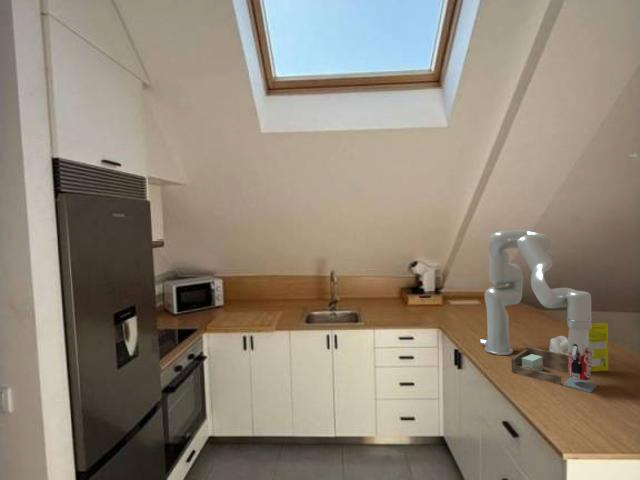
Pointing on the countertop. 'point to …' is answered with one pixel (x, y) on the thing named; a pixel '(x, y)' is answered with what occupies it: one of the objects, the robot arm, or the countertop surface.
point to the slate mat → (580, 385)
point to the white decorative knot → (559, 345)
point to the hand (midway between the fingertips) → (579, 370)
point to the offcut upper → (532, 361)
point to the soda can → (585, 366)
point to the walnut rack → (548, 360)
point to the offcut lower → (535, 367)
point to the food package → (599, 346)
